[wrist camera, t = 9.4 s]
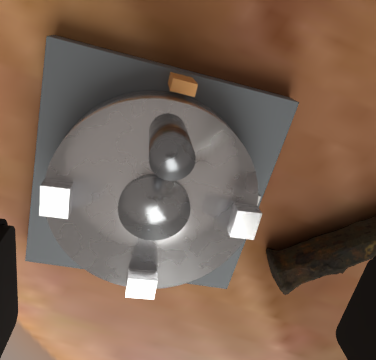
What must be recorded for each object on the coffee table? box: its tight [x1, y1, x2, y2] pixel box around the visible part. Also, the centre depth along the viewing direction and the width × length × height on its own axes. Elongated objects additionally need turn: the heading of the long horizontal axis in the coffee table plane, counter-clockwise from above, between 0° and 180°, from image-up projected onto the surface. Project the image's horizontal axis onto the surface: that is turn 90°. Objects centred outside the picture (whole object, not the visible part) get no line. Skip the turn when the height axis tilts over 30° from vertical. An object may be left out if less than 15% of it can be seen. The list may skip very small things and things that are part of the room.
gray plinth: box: [25, 35, 299, 289], centre depth 27 cm, size 18×18×5 cm
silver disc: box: [39, 91, 262, 300], centre depth 23 cm, size 15×15×8 cm
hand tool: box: [266, 217, 376, 295], centre depth 32 cm, size 19×4×5 cm, turn 108°
